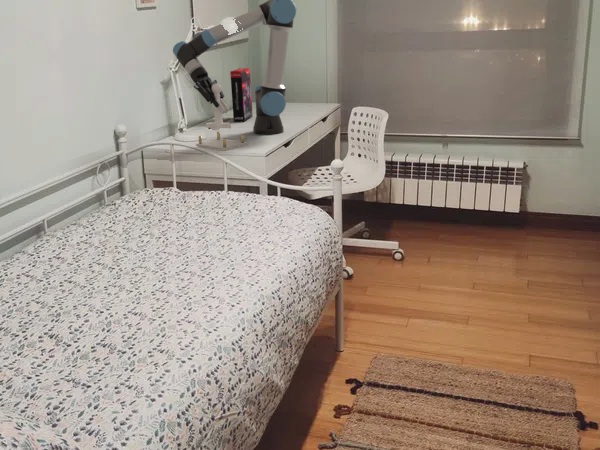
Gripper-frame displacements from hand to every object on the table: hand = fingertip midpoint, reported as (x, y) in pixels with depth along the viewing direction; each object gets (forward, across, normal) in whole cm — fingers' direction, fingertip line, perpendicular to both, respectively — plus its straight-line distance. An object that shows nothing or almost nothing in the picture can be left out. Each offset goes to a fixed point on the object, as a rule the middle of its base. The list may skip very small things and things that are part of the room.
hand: (225, 111), depth 308 cm
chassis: (+9, 0, -14) cm, 16 cm away
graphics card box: (-19, -59, -42) cm, 75 cm away
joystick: (+3, +2, -8) cm, 9 cm away
